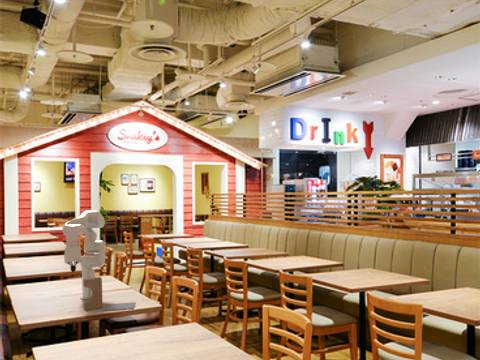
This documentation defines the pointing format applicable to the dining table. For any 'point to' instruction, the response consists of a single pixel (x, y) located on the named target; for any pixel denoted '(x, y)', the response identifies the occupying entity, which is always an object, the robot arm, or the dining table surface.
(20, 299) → the dining table surface
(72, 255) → the robot arm
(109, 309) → the mat
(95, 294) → the decorative block
